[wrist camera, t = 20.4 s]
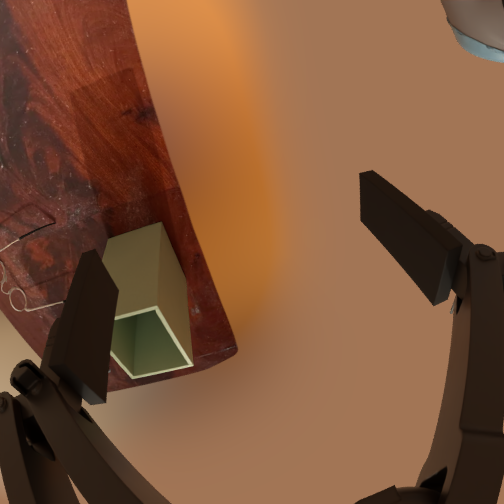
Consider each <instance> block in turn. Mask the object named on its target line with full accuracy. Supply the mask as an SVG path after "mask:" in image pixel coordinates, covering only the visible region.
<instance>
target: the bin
mask: <svg viewBox="0 0 504 504" xmlns="http://www.w3.org/2000/svg"><path fill="white" fill-rule="evenodd" d="M102 262H103V264H104V265H105V267H106V269H107V271H108V272H109V274H110V276H111V278H112V279H113V281H114V283H115V284H116V286H117V288H118V289H119V295H118V301H117V307H116V314H115V321H114V328H113V335H112V343H111V352H110V354H111V356H112V357H113V358H114V359H115V360H116V361H117V363H118V364H119V365H120V366H121V367H122V368H123V369H124V371H125V372H126V373H127V374H128V375H129V376H130V377H131V378H132V379H134V378H139V377H144V376H149V375H154V374H159V373H163V372H168V371H172V370H177V369H181V368H186V367H190V366H194V365H193V355H192V345H191V335H190V324H189V312H188V300H187V286H186V278H185V275H184V273H183V271H182V269H181V266H180V264H179V262H178V259H177V257H176V255H175V252H174V250H173V248H172V245H171V243H170V240H169V238H168V236H167V233H166V231H165V228H164V226H163V223H162V221H161V222H158V223H155V224H152V225H149V226H145V227H142V228H139V229H136V230H133V231H130V232H127V233H124V234H121V235H118V236H115V237H112V238H109V239H108V242H107V245H106V249H105V252H104V255H103V259H102Z"/></svg>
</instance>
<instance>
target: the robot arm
mask: <svg viewBox="0 0 504 504" xmlns="http://www.w3.org/2000/svg"><path fill="white" fill-rule="evenodd" d="M441 3H442V5H443V7H444V9H445V12H446V15H447V21H448V23H449V25H450V26H451V27H452V30H453V32H454V35H455V37H456V40H457V42H458V43H459V44H460V45H461V46H462V47H463V48H464V49H465V50H466V51H468V52H469V53H471V54H473V55H475V56H478V57H481V58H484V59H487V60H491V61H496V62H504V0H441ZM359 175H360V176H359V177H360V212H361V213H360V216H361V217H360V218H361V222H362V223H363V224H364V225H365V226H366V227H367V228H368V229H369V230H370V231H371V232H372V234H373V235H374V236H375V237H376V238H377V239H378V240H379V241H380V243H381V244H382V245H383V246H384V247H385V248H386V249H387V250H388V252H389V253H390V254H391V255H392V256H393V257H394V258H395V260H396V261H397V262H398V263H399V264H400V265H401V267H402V268H403V269H404V270H405V271H406V273H407V274H408V275H409V276H410V277H411V278H412V280H413V281H414V282H415V283H416V285H417V286H418V287H419V288H420V290H421V291H422V292H423V293H424V295H425V296H426V297H427V298H428V299H429V301H430V302H431V303H432V305H433V306H435V305H437V304H439V303H441V302H443V301H445V300H447V299H448V297H449V294H450V290H451V289H452V290H453V291H454V292H455V293H456V297H455V300H454V303H453V306H452V308H451V311H450V313H451V314H452V313H453V310H454V314H453V328H452V338H451V347H450V355H449V364H448V370H447V376H446V383H445V389H444V394H443V399H442V404H441V410H440V414H439V418H438V423H437V427H436V431H435V435H434V439H433V443H432V447H431V450H430V453H429V456H428V458H427V460H426V462H425V464H424V465H423V467H422V470H421V472H420V475H419V477H418V480H417V483H416V486H415V487H401V488H396V487H395V485H394V486H392V487H389V488H387V489H385V490H383V491H381V492H378V493H376V494H373V495H371V496H368V497H366V498H363V499H361V500H359V501H358V502H356V503H355V504H497V500H498V496H499V492H500V488H501V484H502V480H503V475H504V434H503V420H504V252H498V253H497V252H496V251H495V250H494V249H492V248H491V247H489V246H487V245H484V244H475V245H474V244H473V243H472V242H471V241H470V240H469V239H467V238H466V237H465V236H464V235H463V234H462V233H461V232H460V231H458V230H457V229H456V228H455V227H453V225H452V224H450V223H449V222H447V220H446V219H444V218H443V217H442V216H441V215H440V214H438V213H436V212H433V211H431V210H427V211H424V210H423V209H422V208H421V207H419V206H418V205H417V204H416V203H415V202H413V201H412V200H411V199H410V198H408V197H407V196H406V195H405V194H403V193H402V192H401V191H399V190H398V189H397V188H396V187H394V186H393V185H392V184H390V183H389V182H388V181H387V180H385V179H384V178H382V177H381V176H380V175H379V174H377V173H376V172H374V171H373V170H371V171H366V172H362V173H359ZM118 295H119V289H118V288H117V286H116V284H115V283H114V281H113V279H112V278H111V276H110V274H109V272H108V271H107V269H106V267H105V265H104V264H103V262H102V260H101V258H100V257H99V255H98V253H97V251H96V249H93V250H90V251H88V252H85V253H82V256H81V258H80V261H79V264H78V266H77V269H76V272H75V275H74V278H73V280H72V283H71V286H70V289H69V292H68V295H67V298H66V302H65V305H64V308H63V311H62V315H61V317H60V318H57V319H56V320H55V322H54V323H53V325H52V327H51V329H50V332H49V335H48V340H47V343H46V347H45V350H44V354H43V358H42V362H41V366H40V369H39V368H38V367H37V366H36V365H35V364H34V363H33V362H32V361H31V360H28V359H26V360H23V361H21V362H20V363H18V364H17V365H16V367H15V368H14V370H13V371H12V374H11V378H10V383H11V385H12V386H13V387H14V388H15V389H16V390H17V391H19V392H20V393H21V394H20V395H18V396H16V397H13V396H12V395H10V394H9V393H8V392H2V393H0V468H1V473H2V477H3V482H4V486H5V489H6V493H7V497H8V500H9V504H80V503H79V501H78V499H77V496H76V494H75V492H74V489H73V487H72V484H71V482H70V479H69V477H70V478H71V480H72V481H73V483H74V484H75V486H76V487H77V488H78V490H79V491H80V493H81V494H82V495H83V497H84V498H85V499H86V501H87V502H88V503H89V504H171V503H170V502H169V501H168V500H167V499H166V498H165V497H164V496H162V495H161V494H160V493H159V492H158V491H157V490H156V489H155V488H154V487H153V486H152V485H151V484H150V483H149V482H148V481H147V480H146V479H145V478H144V477H143V476H142V475H141V474H140V473H139V472H138V471H137V470H136V469H135V468H134V467H133V466H132V465H131V463H130V462H129V461H128V460H127V459H126V458H125V457H124V456H123V455H122V454H121V453H120V451H119V450H118V449H117V448H116V447H115V446H114V444H113V443H112V442H111V441H110V440H109V439H108V437H107V436H106V435H105V434H104V432H103V431H102V430H101V429H100V427H99V426H98V425H97V424H96V422H95V421H94V420H93V419H92V418H91V416H90V415H89V413H88V412H87V411H86V409H84V408H83V407H82V406H81V404H82V398H83V399H84V400H85V401H87V402H88V403H89V404H90V405H95V404H103V403H106V397H107V383H108V372H109V362H110V352H111V343H112V335H113V328H114V321H115V314H116V307H117V301H118ZM68 475H69V477H68Z"/></svg>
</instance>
